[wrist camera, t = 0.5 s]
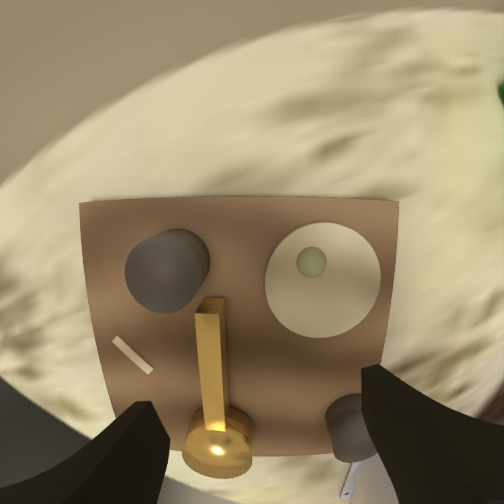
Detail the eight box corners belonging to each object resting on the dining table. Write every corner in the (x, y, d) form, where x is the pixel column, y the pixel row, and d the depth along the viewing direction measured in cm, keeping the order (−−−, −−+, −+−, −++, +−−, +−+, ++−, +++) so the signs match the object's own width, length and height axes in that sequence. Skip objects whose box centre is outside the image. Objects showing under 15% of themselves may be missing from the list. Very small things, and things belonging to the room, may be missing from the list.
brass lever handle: (253, 448, 19) (252, 480, 16) (194, 445, 19) (186, 475, 16) (253, 297, 17) (252, 320, 14) (176, 295, 17) (159, 317, 14)
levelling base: (356, 437, 21) (371, 479, 16) (129, 430, 22) (109, 469, 17) (393, 200, 18) (434, 205, 13) (91, 201, 18) (45, 206, 13)
